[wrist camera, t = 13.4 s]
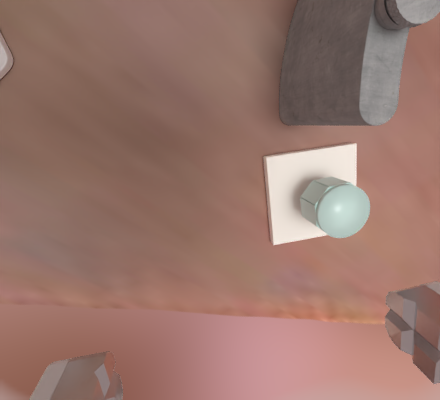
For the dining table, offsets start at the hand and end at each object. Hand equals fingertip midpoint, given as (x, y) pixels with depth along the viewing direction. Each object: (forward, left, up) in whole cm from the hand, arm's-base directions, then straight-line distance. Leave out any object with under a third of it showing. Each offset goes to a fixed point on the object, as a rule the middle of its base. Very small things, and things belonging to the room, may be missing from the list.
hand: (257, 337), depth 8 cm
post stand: (+6, +16, -31) cm, 35 cm away
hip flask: (-12, +15, -31) cm, 37 cm away
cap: (+6, +16, -27) cm, 32 cm away
